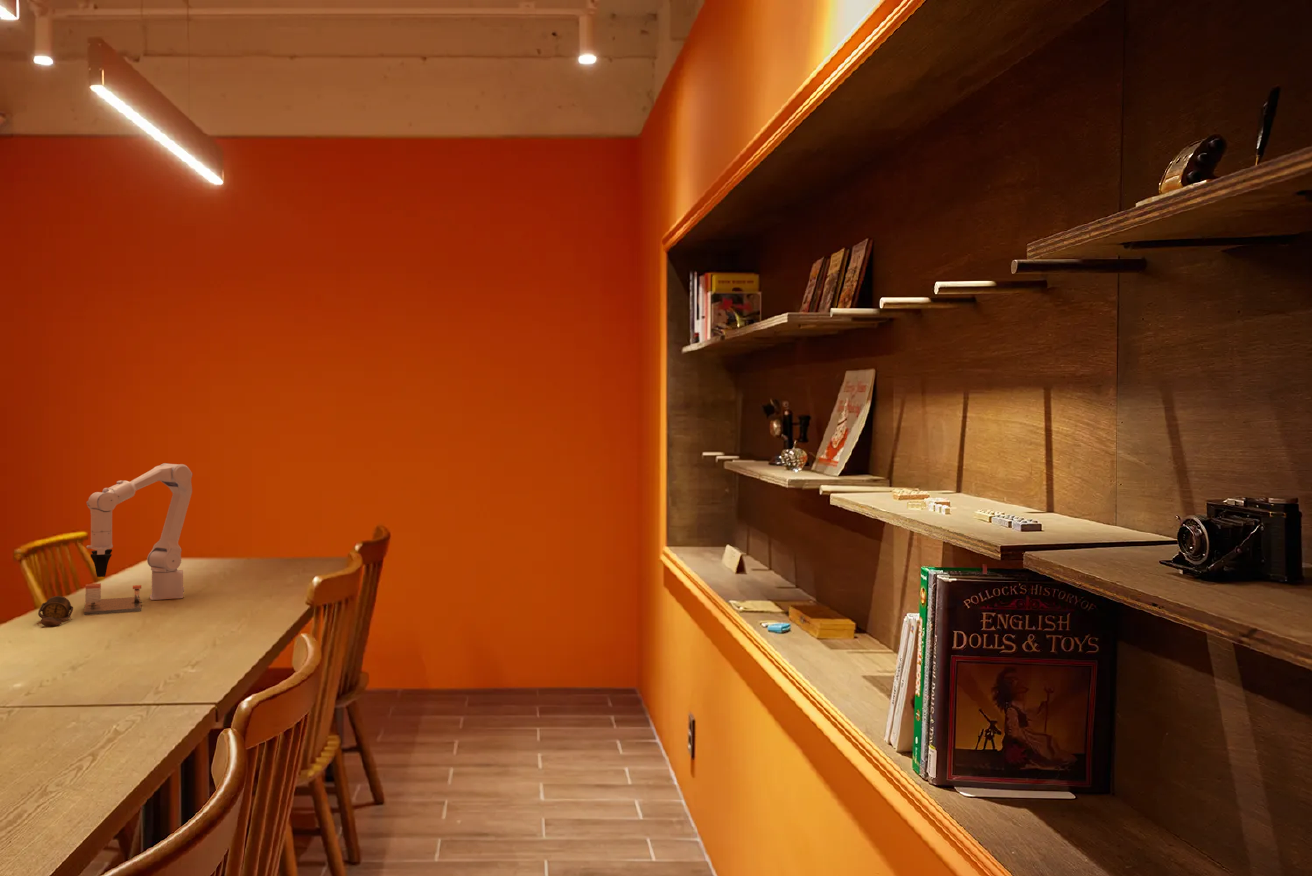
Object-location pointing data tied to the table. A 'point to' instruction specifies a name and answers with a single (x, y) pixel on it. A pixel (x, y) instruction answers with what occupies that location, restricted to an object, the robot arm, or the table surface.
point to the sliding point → (93, 593)
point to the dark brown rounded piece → (55, 611)
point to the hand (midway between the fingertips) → (101, 574)
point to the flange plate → (115, 604)
